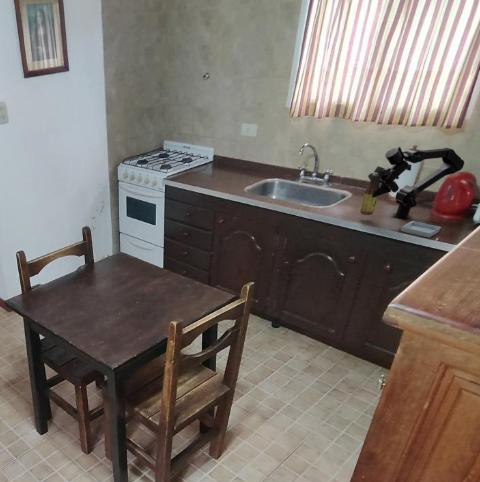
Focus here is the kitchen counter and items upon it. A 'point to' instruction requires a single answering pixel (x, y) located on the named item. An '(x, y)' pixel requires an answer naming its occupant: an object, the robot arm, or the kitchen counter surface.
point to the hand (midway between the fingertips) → (368, 195)
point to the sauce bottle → (370, 196)
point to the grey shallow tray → (420, 229)
